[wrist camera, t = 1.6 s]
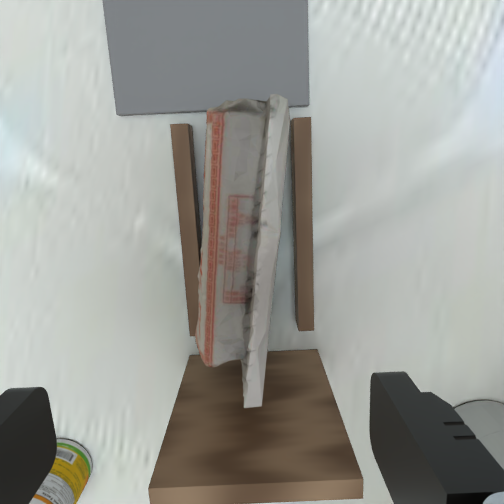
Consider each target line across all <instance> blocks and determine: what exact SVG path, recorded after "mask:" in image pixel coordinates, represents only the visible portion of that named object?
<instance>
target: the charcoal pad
mask: <svg viewBox="0 0 504 504" xmlns="http://www.w3.org/2000/svg"><path fill="white" fill-rule="evenodd" d="M103 8H104V16H105V24H106V32H107V40H108V49H109V57H110V65H111V73H112V81H113V89H114V98H115V106H116V114H117V115H119V116H128V115H147V114H167V113H186V112H205V111H207V110H208V109H209V108H213V107H218V106H220V105H221V104H223V103H224V102H225V101H226V100H228V101H235V100H237V99H244V98H245V99H253V100H260V101H267V100H268V99H269V97H270V94H278V95H280V96H282V97H284V98H286V99H288V107H301V106H308V105H309V60H308V0H103Z"/></svg>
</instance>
